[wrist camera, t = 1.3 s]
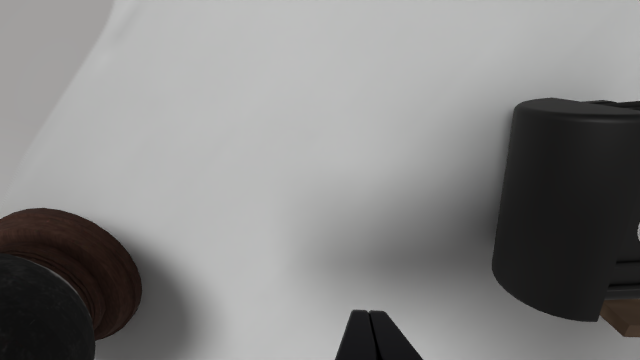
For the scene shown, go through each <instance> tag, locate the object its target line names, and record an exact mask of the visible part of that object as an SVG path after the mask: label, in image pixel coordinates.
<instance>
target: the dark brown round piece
mask: <svg viewBox="0 0 640 360" xmlns="http://www.w3.org/2000/svg"><path fill="white" fill-rule="evenodd" d="M141 295H142V286H141V278H140V275H139V272H138V269H137V267H136V265H135V263H134V261H133V260H132V258H131V256H130V254H129V253H128V252H127V251H126V250H125V248H124V247H123V246H122V245H121V244H120V242H118V241H117V240H116V239H115V238H114V237H113V236H112V235H110V234H109V233H108V232H107V231H105V230H104V229H102V228H101V227H99V226H98V225H96V224H95V223H93V222H91V221H89V220H87V219H84V218H82V217H80V216H78V215H75V214H72V213H68V212H65V211H61V210H55V209H47V208H35V209H26V210H22V211H18V212H14V213H12V214H10V215H8V216H6V217H3V218H2V219H0V360H94V356H95V341H96V340H99V339H103V338H105V337H108V336H110V335H113V334H115V333H116V332H117V331H119V330H120V329H122V328H123V327H124V326H125V325H126V323H127V322H128V321H129V320H130V319H131V317H132V316H133V315H134V314H135V312H136V310H137V308H138V306H139V304H140V301H141Z"/></svg>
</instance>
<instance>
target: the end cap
mask: <svg viewBox="0 0 640 360" xmlns="http://www.w3.org/2000/svg"><path fill="white" fill-rule="evenodd" d="M639 223H640V101H635V102H622V103H616V102H612V101H605V100H599V101H586V102H578V101H572V100H565V99H558V98H543V99H535V100H529V101H525V102H522V103H520V104H518V105H517V106H516V107H515V109H514V115H513V122H512V129H511V135H510V142H509V149H508V156H507V163H506V170H505V177H504V183H503V190H502V197H501V204H500V211H499V218H498V225H497V231H496V238H495V245H494V252H493V259H492V271H493V274H494V276H495V278H496V280H497V281H498V283H499V284H500V285H501V286H502V287H503V288H504V289H505V290H506V291H507V292H509V293H510V294H511V295H512V296H514V297H515V298H517V299H518V300H520V301H521V302H523V303H525V304H526V305H529V306H531V307H533V308H535V309H537V310H539V311H542V312H545V313H547V314H550V315H553V316H557V317H561V318H564V319H569V320H576V321H585V322H597V321H598V318H599V315H600V312H601V309H602V305H603V302H604V300H618V299H640V241H639V239H638V236H637V230H638V225H639Z"/></svg>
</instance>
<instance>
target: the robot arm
mask: <svg viewBox="0 0 640 360" xmlns="http://www.w3.org/2000/svg"><path fill="white" fill-rule="evenodd" d="M335 360H423V359H422V358H421V356H420V355H419V354H418V353H417V351H416V350H415V349H414V347H413V346H412V345H411V344H410V342H409V341H408V340H407V339H406V337H405V336H404V335H403V334H402V332H401V331H400V330H399V329H398V327H397V326H396V325H395V324H394V322H393V321H392V320H391V318H390V317H389V316H388V315H387V313H386V312H384V311H374V310H371V311H369V312H367V311H366V310H353V311H352V312H351V315H350V318H349V320H348V323H347V326H346V329H345V332H344V335H343V338H342V341H341V344H340V347H339V349H338V352H337V355H336V358H335Z"/></svg>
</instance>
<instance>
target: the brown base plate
mask: <svg viewBox="0 0 640 360" xmlns="http://www.w3.org/2000/svg"><path fill="white" fill-rule="evenodd" d="M600 315H601V316H602V317H603V318H604V319H605V320H606V321H607V322H608V323H609V324H610V325H611V326H613V327H614V328H615V329H616V330H617V331H618V332H619V333H620V334H621V335H622V336H623V337H640V299H618V300H604V302H603V305H602V309H601V312H600Z"/></svg>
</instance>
